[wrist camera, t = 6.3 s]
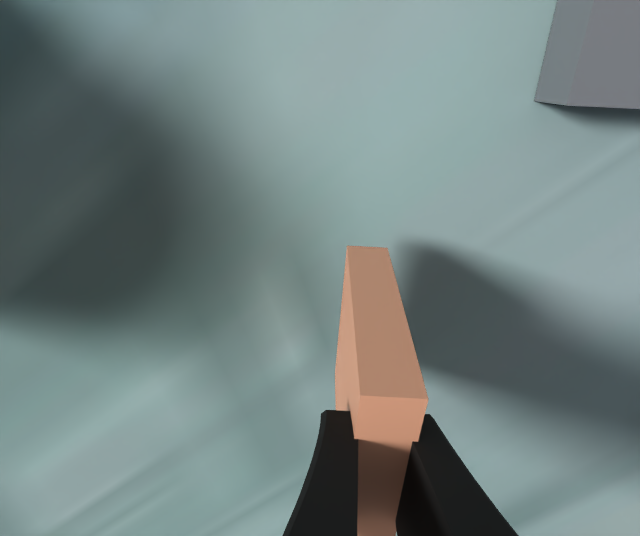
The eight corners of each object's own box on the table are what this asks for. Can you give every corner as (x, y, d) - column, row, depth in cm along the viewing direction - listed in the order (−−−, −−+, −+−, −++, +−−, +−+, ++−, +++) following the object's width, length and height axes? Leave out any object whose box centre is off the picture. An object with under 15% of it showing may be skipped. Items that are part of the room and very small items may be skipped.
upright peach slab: (387, 248, 13) (428, 399, 8) (368, 374, 15) (390, 555, 10) (346, 245, 13) (360, 395, 8) (335, 372, 15) (338, 553, 10)
